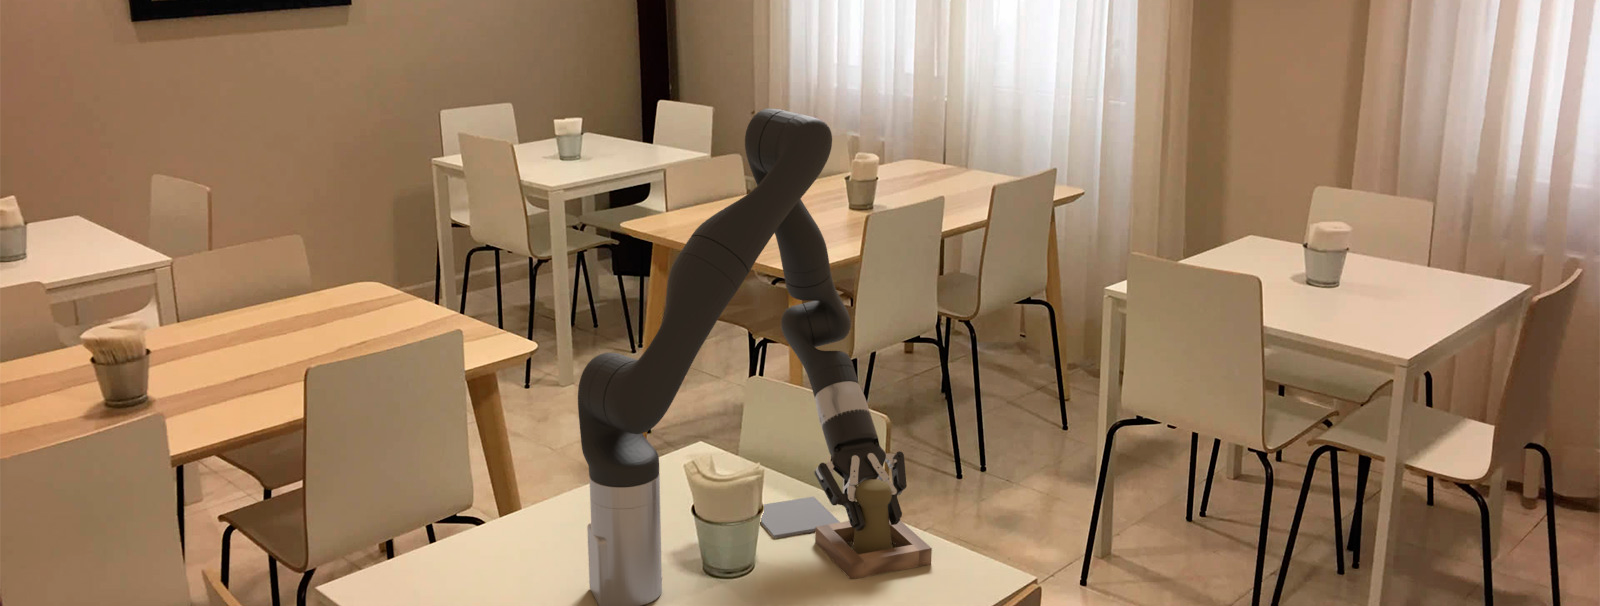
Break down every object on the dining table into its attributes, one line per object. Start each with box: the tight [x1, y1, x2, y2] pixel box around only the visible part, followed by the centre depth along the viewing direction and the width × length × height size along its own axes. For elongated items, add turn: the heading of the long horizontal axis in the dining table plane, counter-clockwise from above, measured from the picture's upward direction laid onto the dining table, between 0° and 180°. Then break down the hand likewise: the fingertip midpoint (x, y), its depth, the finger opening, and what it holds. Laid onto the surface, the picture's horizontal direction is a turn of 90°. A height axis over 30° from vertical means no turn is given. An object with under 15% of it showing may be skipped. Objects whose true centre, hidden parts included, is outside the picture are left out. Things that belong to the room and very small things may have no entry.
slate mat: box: [760, 496, 841, 539], centre depth 199 cm, size 11×11×1 cm
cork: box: [851, 478, 893, 554], centre depth 186 cm, size 6×6×11 cm
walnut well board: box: [814, 520, 933, 580], centre depth 187 cm, size 13×13×2 cm
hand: (878, 525), depth 185 cm, fingers closed on cork, 5 cm apart
